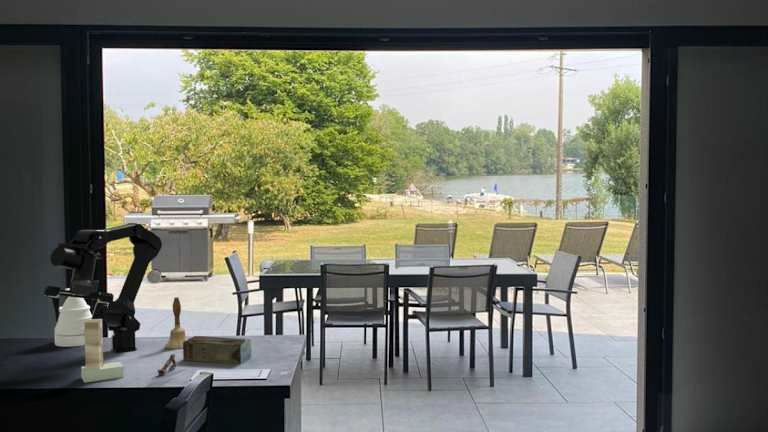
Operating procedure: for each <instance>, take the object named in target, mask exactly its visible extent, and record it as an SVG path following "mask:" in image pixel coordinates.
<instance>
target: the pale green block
mask: <svg viewBox="0 0 768 432" xmlns="http://www.w3.org/2000/svg"><path fill="white" fill-rule="evenodd" d="M80 371H81V379H82V381H83V383H90V382H97V381H98V382H99V381H105V380H112V379H119V378H124V377H125V375H124V365H123V364H122V363H121V362H120V361H117V362H116V361H115V362H109V363H108V362H107V363H103V366H102V367H101V368H100V369H90V370H86V365H85V366H81V370H80Z"/></svg>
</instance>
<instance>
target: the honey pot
mask: <svg viewBox="0 0 768 432" xmlns="http://www.w3.org/2000/svg"><path fill="white" fill-rule="evenodd" d="M64 290H68V291H69V290H70V287H68V288H65V289H64ZM72 295H73V294H72ZM90 309H91V306H90V305H89V304H87V302H86V300H85V298H77V297H68V296H67V298H66V300H65V301H64V303H63V304H62V306H59V318H58V323H56V326H55V327H54V345H55V346H57V347H67V348H68V347H81V346H85V326H84V322H85V321H87V320H88V319H91V318H92V315H93V314H92V312H91V311H90Z"/></svg>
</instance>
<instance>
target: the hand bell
mask: <svg viewBox="0 0 768 432" xmlns="http://www.w3.org/2000/svg"><path fill="white" fill-rule="evenodd" d="M181 311H182V305H181V302H180V298H179V296H177V297H174V298H173V302H172V312H173V315H174V327H173V328H172V329H171V330H170V335H169V338H168V341H167V343H166V344H165V346H164V348H165V347H166V349H168V348H169V350H179V349H183V342H184V341H186V340H188V338H187V335H186V330H185V329H184V328H182V327H181V319H180V315H181ZM170 348H171V349H170Z"/></svg>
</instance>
